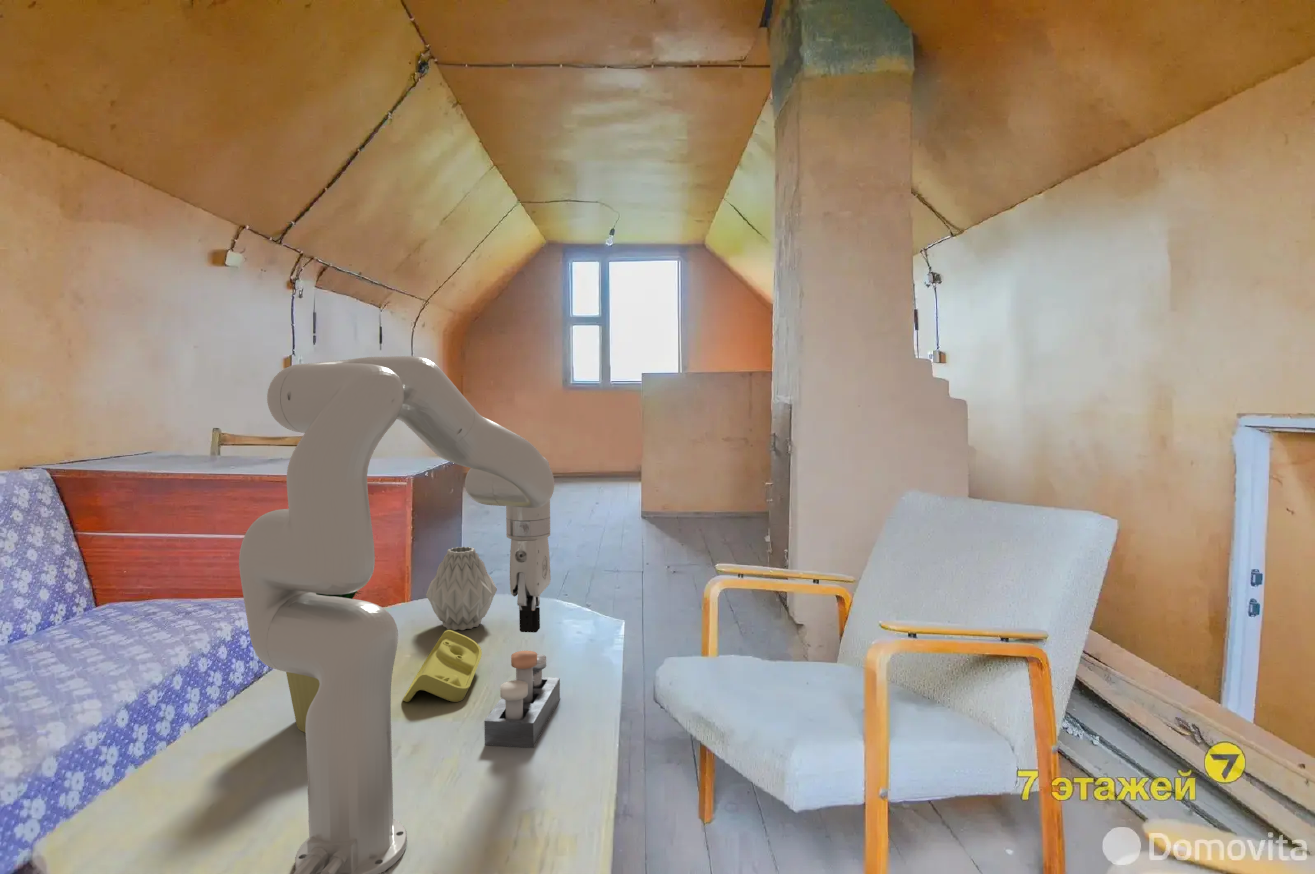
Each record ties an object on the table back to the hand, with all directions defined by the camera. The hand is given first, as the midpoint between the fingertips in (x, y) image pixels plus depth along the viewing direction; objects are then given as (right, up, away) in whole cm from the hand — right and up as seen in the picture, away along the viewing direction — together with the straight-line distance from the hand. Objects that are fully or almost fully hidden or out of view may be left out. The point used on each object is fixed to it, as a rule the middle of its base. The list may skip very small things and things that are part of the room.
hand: (529, 630), depth 127 cm
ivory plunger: (-1, -15, -8) cm, 17 cm away
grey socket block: (0, -15, -2) cm, 15 cm away
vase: (-25, -12, +47) cm, 54 cm away
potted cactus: (-34, -15, -2) cm, 37 cm away
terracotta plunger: (0, -12, -3) cm, 12 cm away
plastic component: (-18, -14, +13) cm, 27 cm away
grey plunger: (0, -14, +4) cm, 15 cm away
